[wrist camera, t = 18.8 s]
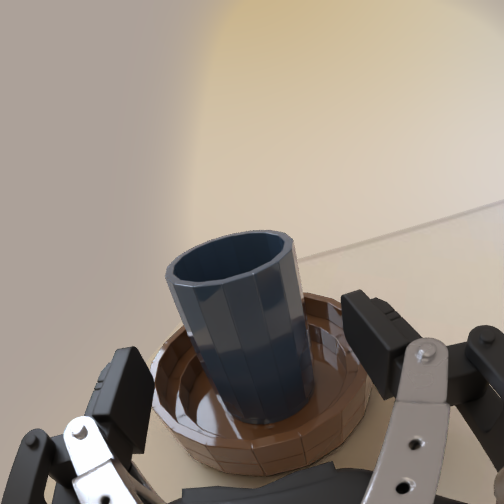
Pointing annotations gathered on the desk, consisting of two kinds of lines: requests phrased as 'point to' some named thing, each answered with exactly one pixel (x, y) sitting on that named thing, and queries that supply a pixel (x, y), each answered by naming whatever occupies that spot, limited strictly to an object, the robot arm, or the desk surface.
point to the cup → (247, 322)
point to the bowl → (264, 435)
